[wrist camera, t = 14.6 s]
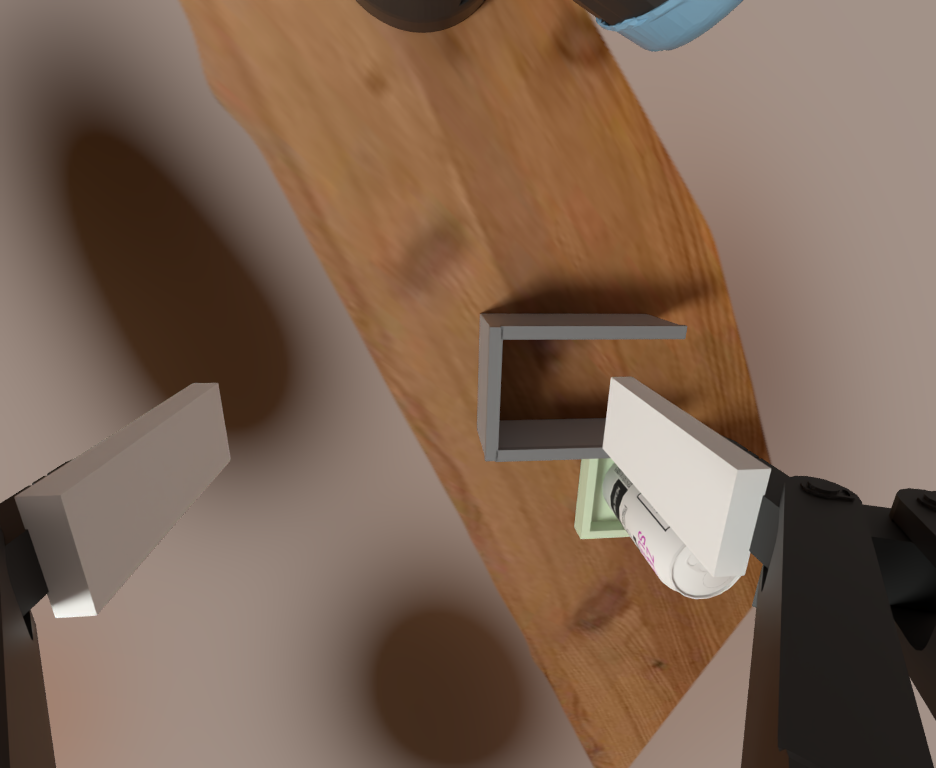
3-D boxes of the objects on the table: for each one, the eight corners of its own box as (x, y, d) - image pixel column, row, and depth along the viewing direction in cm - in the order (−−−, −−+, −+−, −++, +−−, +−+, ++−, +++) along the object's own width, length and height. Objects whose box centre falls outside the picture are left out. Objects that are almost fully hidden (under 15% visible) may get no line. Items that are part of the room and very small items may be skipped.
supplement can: (679, 468, 54) (771, 550, 40) (637, 520, 56) (711, 616, 41) (627, 438, 52) (705, 513, 38) (586, 493, 54) (646, 584, 39)
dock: (479, 312, 46) (489, 326, 39) (647, 312, 48) (687, 325, 41) (476, 430, 50) (485, 462, 43) (631, 426, 52) (665, 456, 45)
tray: (584, 430, 52) (591, 439, 49) (690, 428, 53) (703, 436, 51) (574, 526, 56) (580, 539, 53) (673, 522, 57) (684, 533, 55)
